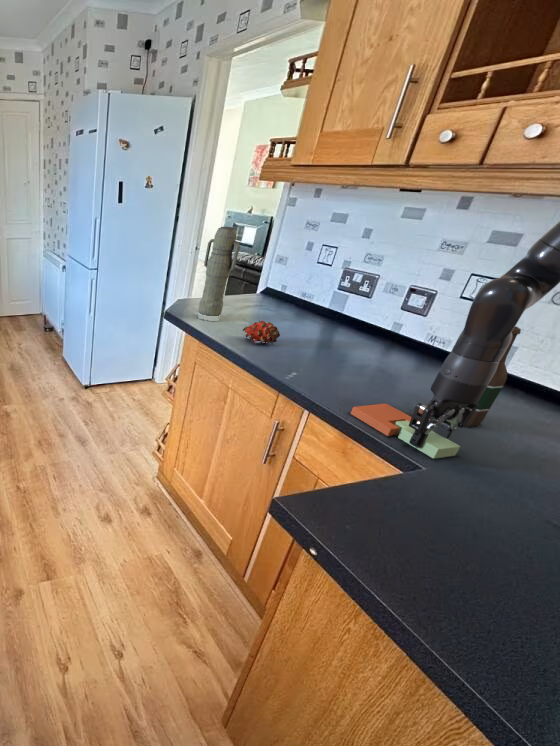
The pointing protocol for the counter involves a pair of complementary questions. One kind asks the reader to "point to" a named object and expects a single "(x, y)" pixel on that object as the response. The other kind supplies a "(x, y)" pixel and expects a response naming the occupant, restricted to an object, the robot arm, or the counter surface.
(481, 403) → the beer bottle
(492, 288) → the robot arm
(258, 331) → the dragon fruit
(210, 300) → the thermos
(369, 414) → the orange pad
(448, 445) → the sage pad
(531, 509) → the counter surface
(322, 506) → the counter surface
